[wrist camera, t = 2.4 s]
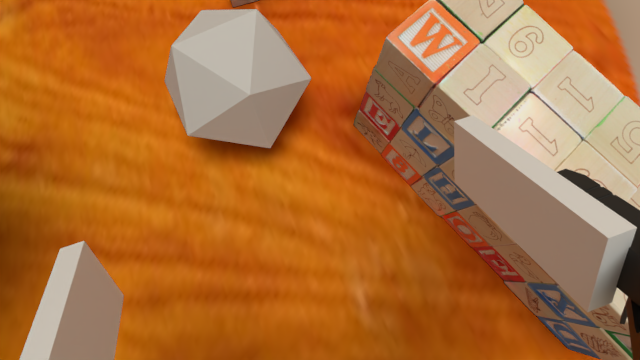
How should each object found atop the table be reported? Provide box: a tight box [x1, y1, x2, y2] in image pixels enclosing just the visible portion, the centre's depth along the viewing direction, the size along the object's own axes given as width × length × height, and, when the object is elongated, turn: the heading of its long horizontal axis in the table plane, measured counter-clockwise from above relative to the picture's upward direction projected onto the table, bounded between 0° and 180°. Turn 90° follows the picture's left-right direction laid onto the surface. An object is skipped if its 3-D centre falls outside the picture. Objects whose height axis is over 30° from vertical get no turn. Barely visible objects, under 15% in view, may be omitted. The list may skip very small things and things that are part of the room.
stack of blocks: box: [354, 0, 640, 360], centre depth 24 cm, size 21×6×12 cm, turn 43°
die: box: [165, 9, 311, 148], centre depth 26 cm, size 8×9×10 cm
